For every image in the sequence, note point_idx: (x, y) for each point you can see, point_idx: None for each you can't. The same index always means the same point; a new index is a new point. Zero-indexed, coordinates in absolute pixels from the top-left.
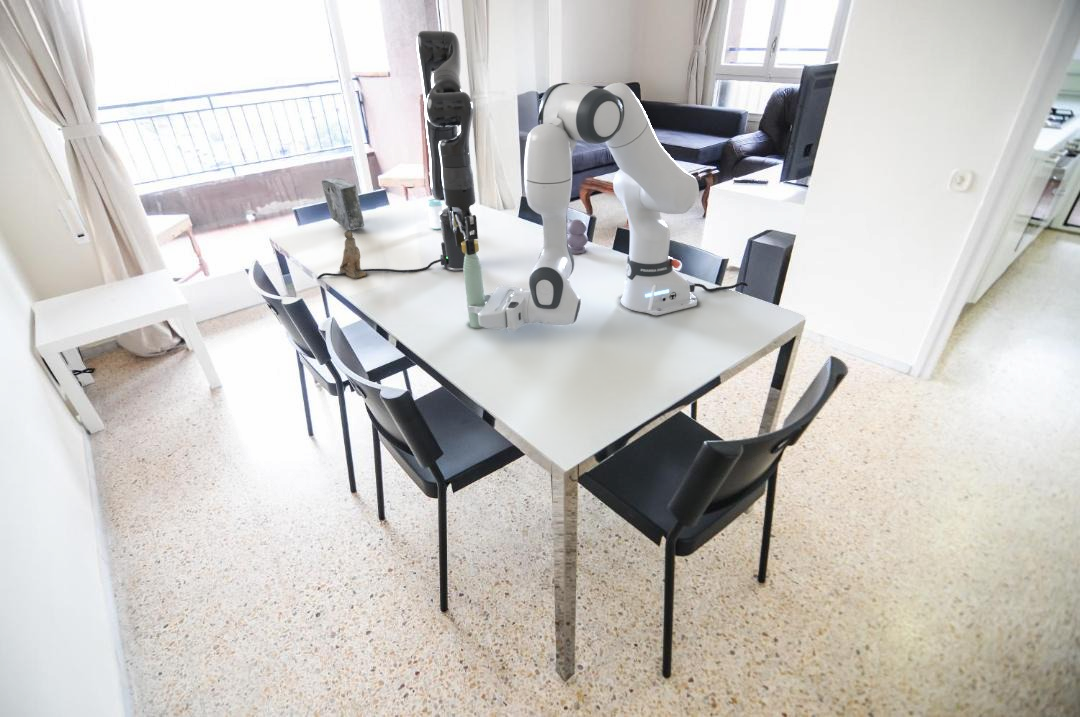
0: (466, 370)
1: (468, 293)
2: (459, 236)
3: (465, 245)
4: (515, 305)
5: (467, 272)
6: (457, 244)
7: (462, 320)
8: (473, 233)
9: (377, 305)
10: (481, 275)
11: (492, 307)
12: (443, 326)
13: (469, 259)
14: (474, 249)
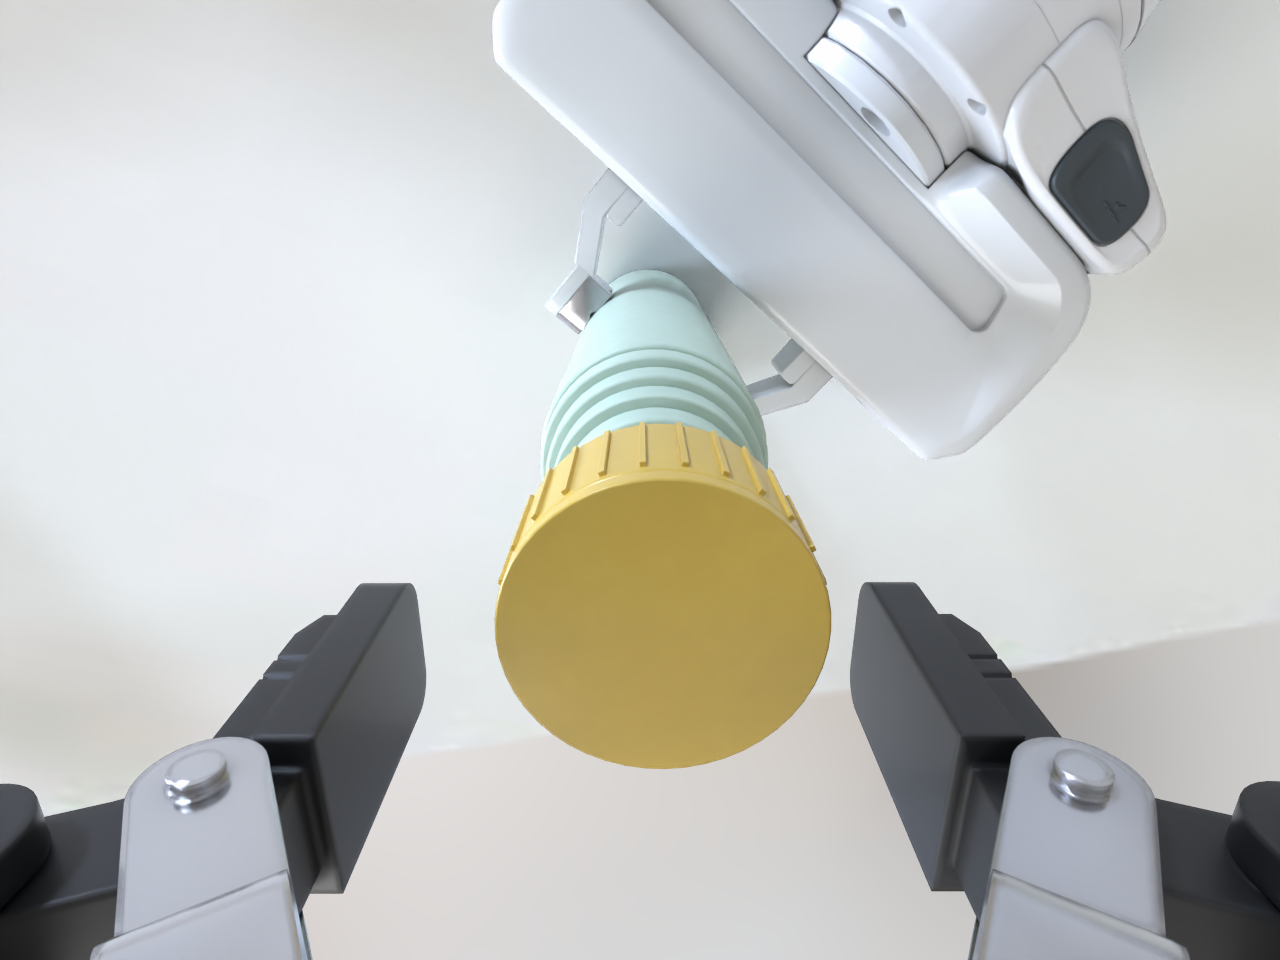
0: (1080, 574)
1: None
2: (360, 765)
3: (755, 735)
4: (1127, 170)
5: None
6: (416, 714)
7: (539, 396)
8: (1159, 883)
9: (105, 742)
10: (727, 358)
11: (909, 323)
12: None
13: None
14: (987, 645)
